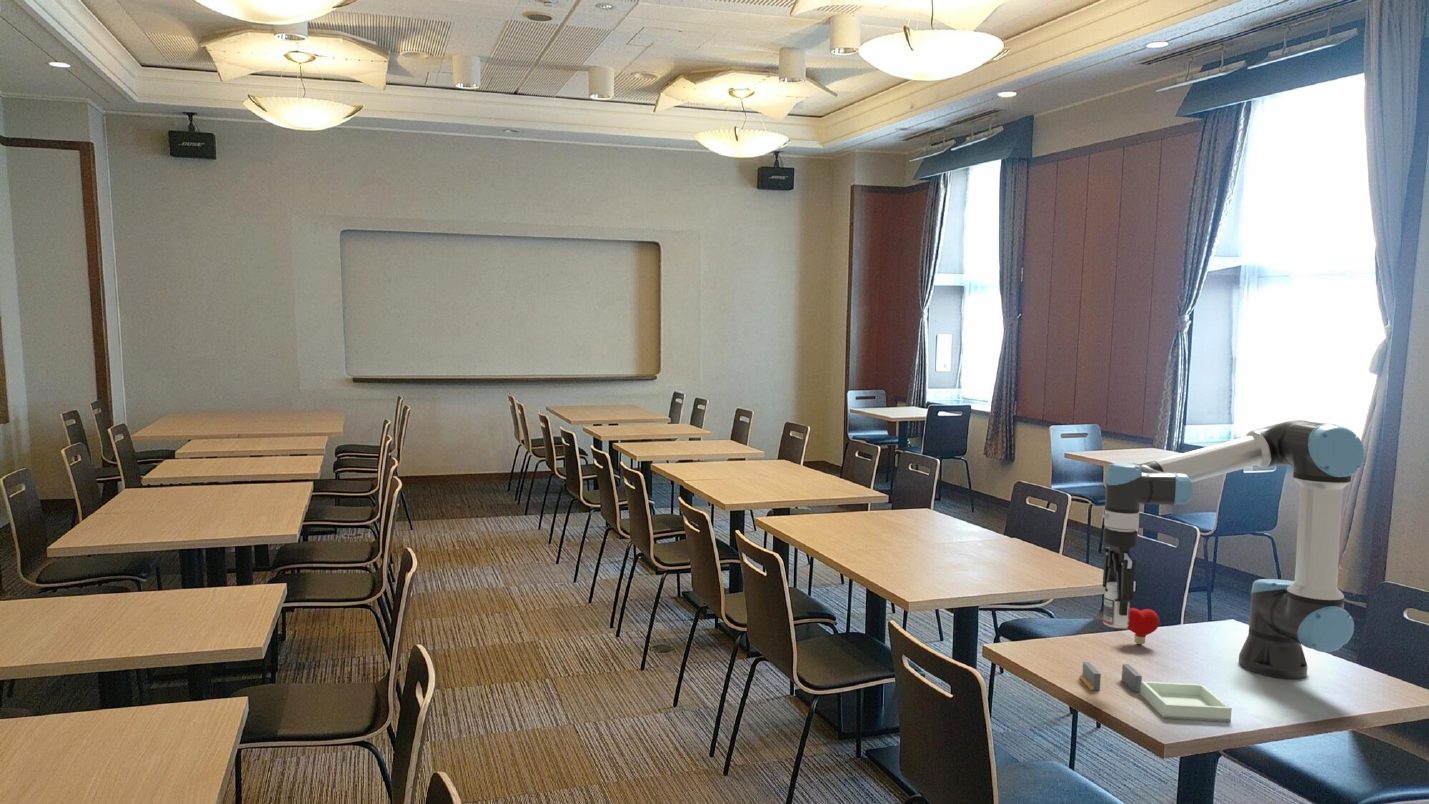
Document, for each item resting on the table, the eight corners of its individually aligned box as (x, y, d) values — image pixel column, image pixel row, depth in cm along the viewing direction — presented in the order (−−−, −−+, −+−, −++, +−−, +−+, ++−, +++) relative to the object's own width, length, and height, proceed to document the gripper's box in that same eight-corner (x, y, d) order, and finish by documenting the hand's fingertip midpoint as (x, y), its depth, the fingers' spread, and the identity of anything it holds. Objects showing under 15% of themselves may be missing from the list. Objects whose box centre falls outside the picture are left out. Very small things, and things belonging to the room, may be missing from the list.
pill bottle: (1128, 623, 224) (1131, 583, 223) (1128, 630, 218) (1130, 588, 218) (1103, 620, 226) (1105, 580, 225) (1102, 626, 221) (1104, 585, 220)
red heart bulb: (1125, 647, 251) (1127, 611, 251) (1118, 639, 258) (1120, 604, 257) (1161, 650, 250) (1163, 614, 249) (1153, 642, 257) (1155, 606, 256)
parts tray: (1201, 697, 217) (1202, 684, 217) (1230, 722, 203) (1231, 708, 203) (1140, 694, 218) (1141, 681, 218) (1165, 718, 204) (1166, 704, 204)
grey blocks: (1130, 680, 227) (1131, 664, 227) (1143, 692, 219) (1144, 676, 219) (1079, 677, 228) (1080, 661, 227) (1090, 689, 220) (1091, 673, 219)
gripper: (1091, 520, 230) (1086, 611, 232) (1119, 536, 211) (1114, 635, 213) (1122, 521, 230) (1117, 612, 231) (1152, 537, 211) (1147, 636, 213)
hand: (1115, 623), depth 222 cm, fingers closed on pill bottle, 6 cm apart
